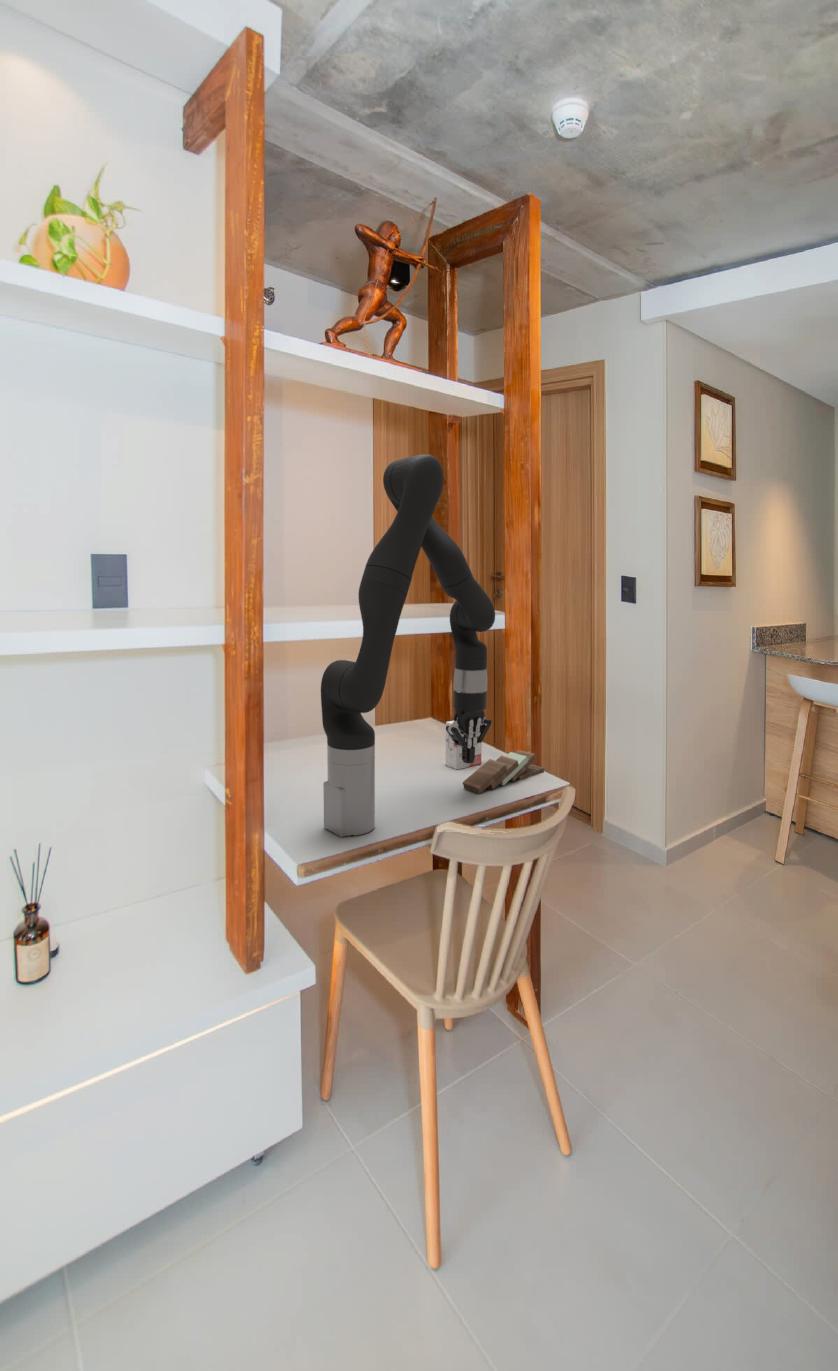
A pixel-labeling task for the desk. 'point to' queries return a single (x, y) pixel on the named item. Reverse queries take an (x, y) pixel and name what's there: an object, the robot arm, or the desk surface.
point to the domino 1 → (484, 776)
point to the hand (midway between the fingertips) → (468, 762)
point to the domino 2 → (510, 765)
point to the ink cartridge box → (459, 753)
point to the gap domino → (521, 761)
